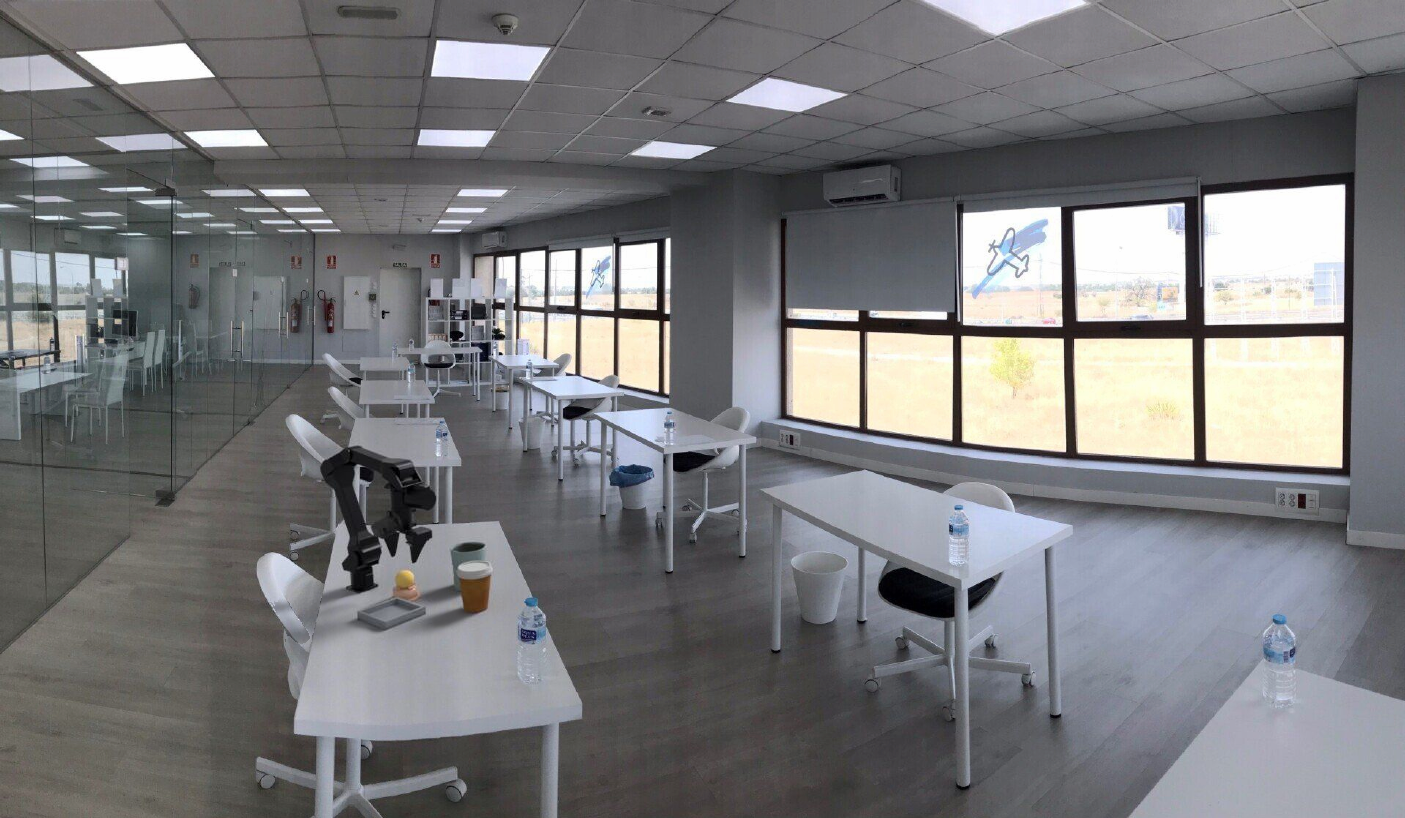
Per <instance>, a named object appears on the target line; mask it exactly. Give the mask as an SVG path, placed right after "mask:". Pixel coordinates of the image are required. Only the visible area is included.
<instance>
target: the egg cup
mask: <svg viewBox="0 0 1405 818" xmlns="http://www.w3.org/2000/svg"><path fill="white" fill-rule="evenodd" d="M396 597H399V598H402V599H405V600H408V601H411V602H415V601H416V600H418V599H420V597H421V593H420V592H419V591H418V585H417V584H416V583H415V581H414V582H413V584H412V585H411V586H410V587H408V588H400V587H398V586H397V585H395V586H394V587H393V588H392V595H391V596H390V599H393V598H396Z"/></svg>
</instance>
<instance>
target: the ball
mask: <svg viewBox="0 0 1405 818" xmlns="http://www.w3.org/2000/svg"><path fill="white" fill-rule="evenodd" d="M394 582H395V586H398V587H400V588H408V587H410V586H411V585H412V584H413V582H414V583H415V575H414V573H413V572H412V571H410V570H407V569H404V570H400V571H399V572H397V574H396V575H395V578H394Z"/></svg>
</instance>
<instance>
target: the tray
mask: <svg viewBox="0 0 1405 818" xmlns="http://www.w3.org/2000/svg"><path fill="white" fill-rule="evenodd" d="M426 614H427V607H426V606H425V605H422V604H419V603H417V602H415V601H412V602H411V601H408V600H405V599H402V598H399V597H396V598H393V599H391V598H390V599H387V600H385V601H383V602H379V603H376V604H374V605H372V606H371V605H370V606H369V607H366V608H363V609H361V610H358V611H357V612H356V615H357V620H359V621H361V622H364V623H366V624H369V625H373V626H375V627H377V628H380V629H382V630H385V631H387V630H390V629H393V628H394V627H397V626H400V625H402V624H404V623H407V622H409V621H412V620H415V619H417V618H419V617H422V616H425V615H426Z"/></svg>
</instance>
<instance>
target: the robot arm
mask: <svg viewBox="0 0 1405 818" xmlns="http://www.w3.org/2000/svg"><path fill="white" fill-rule="evenodd" d="M358 465H359V466H361V467H364V468H366V469H369V470H371V471H374V472H376V473H378V474H380V476H381V477H380V478H381V479H383V480H385V481H386V482H387V483H386V484H385V485H383V489H384V490H389V506H390V507H389V508H390V509H387V511H386V512H385V513H386V515H385V516H384V517H383V518H381V519H379V520H376V521H375V522H374V523H373V524H372V525H370V530H371V531H372V533H373V534H372V533H371V532H370V531H369V529H368V527H367V524H366V522H365V521H366V520H365V518H364V515H363V512H362V509H361V506H360V502H359V499H358V496H357V494H356V491H355V488H354V485H353V483H354V481H355V480H354V479H355V476H356V472H355V467H357V466H358ZM319 469H320V474H321V476H322V479H323V480H324V482H325V484H327V486H329V487H330V488H332V490H333V491H334V494H335V496H336V499H337V501H338V506H339V508H340V509H339V510H340V512H341V515H342V517H343V520H344V524H345V527H346V529H347V533H348V536H349V538H348V542H347V547H346V549H347V554H348V555H347V556H346V558H344V560H343V561H342V562H341V567H342V569H343V571H345V572H348V573H350V576H349V578H350V585H347V586H345V589H347V590H350V591H352V592H355V593H363V592H365V591H369V590H371V589H374V588H377V587H379V584H378V583H376V582H375V580H374V567H373V566H375V565H379V564H380V559H381V555H382V553H383V551H382V548H383V546H382V544H381V543H380V542H381V541H380V539H381V540H384V544H385V545H386V547H387V550H388V553H389V554H390V557H391V558H394V557H396V556H397V555H396V554H397V550H398V544H399V539H400V534H403V535H404V537H405V538H404V539H405V540H406V541H405V542H404V543H405V544H406V545H407V546H409V553H410V560H411V563H412V564H416V563H417V561H418V559H419V557H420V555H421V553H422V550H423V549H424V548H425V545H426V544H427V542H428V541H430V540H431V539H433V530H432V529H431V528H429V527H426V526H423V525H421V526H418V527H417V522H416V521H414V513H416V512H417V510H422V511H430V510H432V509H433V508H434V507H435V505H436V503H437V495H436V493H435V492H434V490H432V489H431V486H430V484H424V481H423V477H422V476H421V475H420V473H419V471H418V469H417V468H416V466H415V465H414V462H413V461H412V460H411V459H407V458H399V457H397V458H395V457H393V458H391V457H388V456H385V455H382V454H380V453H378V452H375V451H372V450H369V449H367V448H364V447H363V446H361V445H359V444H358V445H351V446H347V447H345V448H343V449H341V451H339V452H338V453H336V454H334V455H332V456H331V457H329V458H327V459H324V460H323V461H322V462H321V465H320V466H319ZM414 527H415V528H414Z"/></svg>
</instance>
